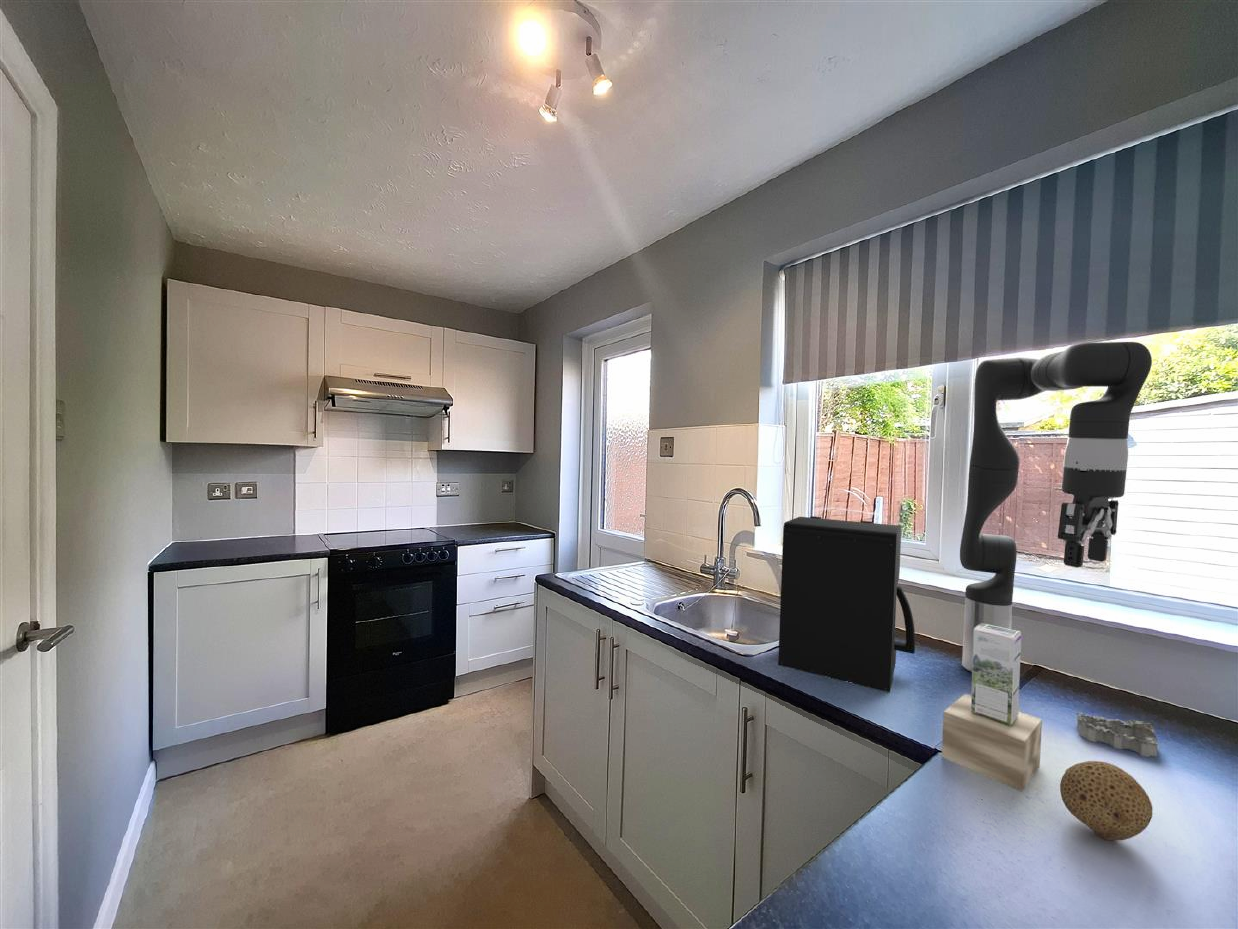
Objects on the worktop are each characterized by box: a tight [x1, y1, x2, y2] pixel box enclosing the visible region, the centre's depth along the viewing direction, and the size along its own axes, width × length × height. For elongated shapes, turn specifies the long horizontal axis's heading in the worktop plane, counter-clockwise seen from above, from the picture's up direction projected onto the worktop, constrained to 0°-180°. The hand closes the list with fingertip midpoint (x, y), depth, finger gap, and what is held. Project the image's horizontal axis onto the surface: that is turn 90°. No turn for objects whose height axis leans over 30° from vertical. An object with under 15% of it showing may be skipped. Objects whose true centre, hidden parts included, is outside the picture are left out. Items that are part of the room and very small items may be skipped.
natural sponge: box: [1059, 760, 1154, 842], centre depth 68 cm, size 9×9×10 cm
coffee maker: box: [777, 515, 916, 694], centre depth 121 cm, size 28×20×35 cm
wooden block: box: [941, 693, 1043, 792], centre depth 85 cm, size 11×11×8 cm
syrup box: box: [970, 623, 1022, 725], centre depth 85 cm, size 6×6×14 cm
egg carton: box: [1076, 711, 1160, 758], centre depth 92 cm, size 11×8×4 cm
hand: (1084, 563), depth 83 cm, fingers open, 8 cm apart
